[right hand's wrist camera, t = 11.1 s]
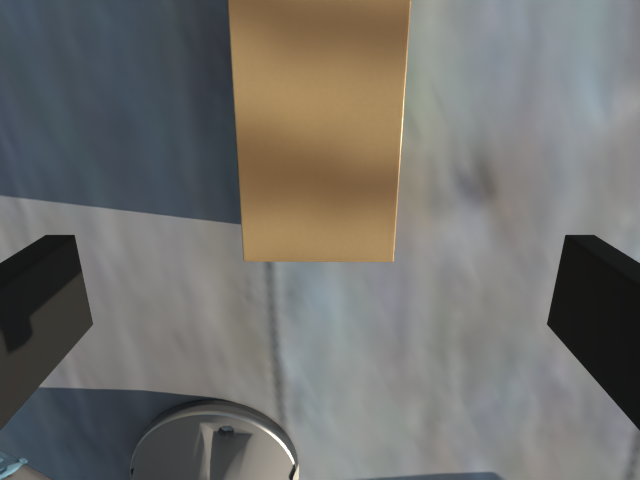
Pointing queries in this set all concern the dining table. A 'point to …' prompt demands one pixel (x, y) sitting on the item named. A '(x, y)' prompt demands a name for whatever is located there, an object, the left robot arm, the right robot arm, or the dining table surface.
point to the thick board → (318, 126)
